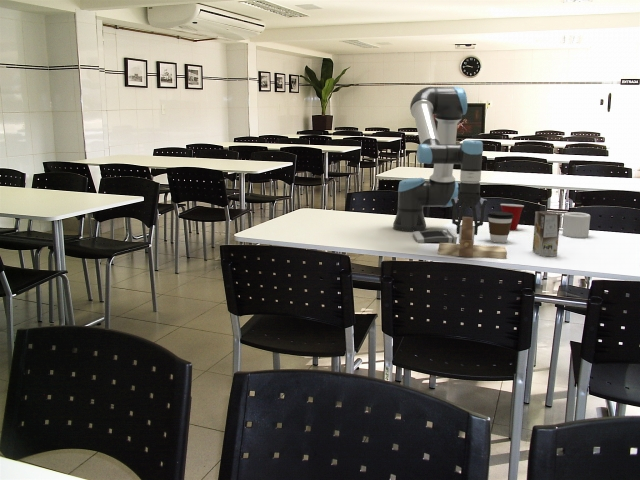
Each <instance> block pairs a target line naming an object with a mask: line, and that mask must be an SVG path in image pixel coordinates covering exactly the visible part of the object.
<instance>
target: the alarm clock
mask: <svg viewBox="0 0 640 480" xmlns="http://www.w3.org/2000/svg"><path fill="white" fill-rule="evenodd" d="M412 233H413V234H412V237H413V239H414V241H415V242H416V243H417V244H425V243H453V244H457V242H458V236H457V235H456V234H455V233H454V232H453V231H452V230H451V229H449V228H447V229H446V230H445V229H428V230H423V231H412Z"/></svg>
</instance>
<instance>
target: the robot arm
mask: <svg viewBox="0 0 640 480" xmlns="http://www.w3.org/2000/svg"><path fill="white" fill-rule="evenodd" d="M409 106H410V107H409V110H410V114H411V116H412V117H413V118H414V122H415V125H416V126H415V127H416V129H417V134H418V139H419V144H418V145H417V149H416V160H417V162H418V163H420V164H426V165H429V164H430V165H432V164H433V173H432V174H431V175H430V176H429V179H428V181H427V180H425V178H423V177H414V178H413V177H412V178H406V179H403V180H400V181H399V184H398V189H397V191H398V193H397V194H398V197H397V199H398V200H397V213H396V216H395V218H394V221H393V223H392V225H393V227H392V228H393V229H394V230H397V231H402V232H416V231H419V232H421V231H427V223H426V220H425V219H426V218H425V215H424V207H432V208H433V207H434V208H435V207H437V208H438V207H440V208H447V207H452V212H451V213H452V217H451V218H452V219H451V223H452V225H455V226H456V234H457V235H458V244H460V240H461V233H462V217H464V213H465V209H466V208H468V207H470V208H471V209H472V217H473V231H472V240H474V241H475V236H477V235H478V230H479V227H480V226H481V227H482V226H483V225H484V218H485V209H486V205H487V203H488V200H487V198H482V196H481V195H480V193H481V183H480V182H481V180H482V179H481V178H482V177H481V176H482V163H483V152H484V148H483V147H484V143H483V141H481V140H463V141H462V143H461V144H456V142H457V133H458V132H457V131H458V124H459V122H460V121H461V120H462V119H463V116H464V115H466V114H467V111H468V96H467V93H466V91H465V89H464V88H463V87H460V86H459V87H458V86H427V87H424V88H421V89H420V90H419V91H417V93H415V95H413V97H412V99H411V101H410V105H409ZM435 120H436V121H437V125H436V123H435ZM454 165H460V177H459V181H460V182H459V183H458V181H456V178H455V177H454V176H453V171H454ZM458 201H459V202H460V204H461V208H460V211H459V215H458V217H457V218H456V216H457V215H456V214H457V213H456V212H457V211H456V210H457V203H458ZM478 203H480V206H481V207H480V216H479V221H478V215H477V210H476V209H477V208H476V206H477V204H478ZM456 219H457V220H456ZM473 245H475V242H474V243H473Z"/></svg>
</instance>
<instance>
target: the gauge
mask: <svg viewBox="0 0 640 480" xmlns="http://www.w3.org/2000/svg"><path fill="white" fill-rule="evenodd" d="M461 225H462V233H461V240H460V243H459V244H460V245H459V256H458V257H466V258H468V257H469V258H473V245H474V244H475V239H474V240H472V231H473V226H474V217H473V216H472V217H471V216H462V220H461ZM473 243H474V244H473Z"/></svg>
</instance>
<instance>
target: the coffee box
mask: <svg viewBox="0 0 640 480" xmlns="http://www.w3.org/2000/svg"><path fill="white" fill-rule="evenodd" d="M534 216H535V217H534V227H533V239H532V252H533V253H535V254H537V255H540V256H541V257H557V256H558V250H559V249H558V246H559V236H560V230H559V229H560V224H561V217H560V216H562V215H561V214H559V213H557V212H554V211H550V210H548V211H547V210H546V211H545V210H544V211H543V210H541V211H536V210H535V214H534Z"/></svg>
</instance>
